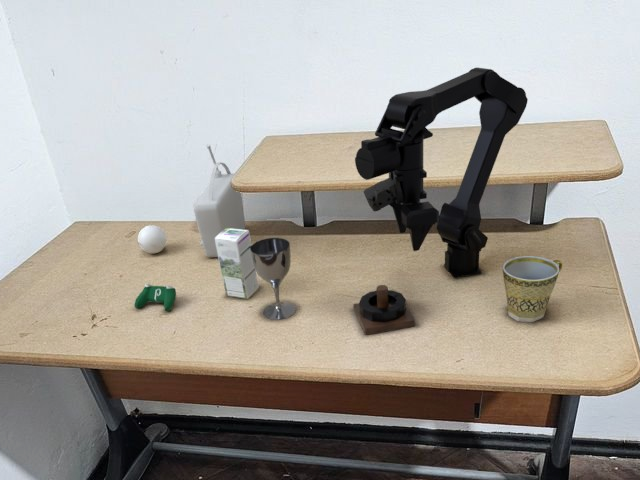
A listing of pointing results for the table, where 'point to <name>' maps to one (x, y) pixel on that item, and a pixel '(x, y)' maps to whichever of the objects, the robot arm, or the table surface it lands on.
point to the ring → (382, 313)
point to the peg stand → (377, 327)
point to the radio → (218, 208)
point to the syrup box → (236, 263)
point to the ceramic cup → (529, 286)
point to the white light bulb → (152, 239)
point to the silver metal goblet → (273, 272)
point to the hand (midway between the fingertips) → (409, 241)
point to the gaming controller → (156, 296)
